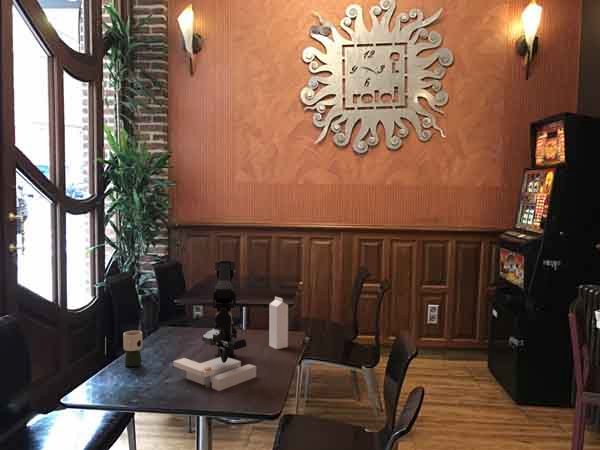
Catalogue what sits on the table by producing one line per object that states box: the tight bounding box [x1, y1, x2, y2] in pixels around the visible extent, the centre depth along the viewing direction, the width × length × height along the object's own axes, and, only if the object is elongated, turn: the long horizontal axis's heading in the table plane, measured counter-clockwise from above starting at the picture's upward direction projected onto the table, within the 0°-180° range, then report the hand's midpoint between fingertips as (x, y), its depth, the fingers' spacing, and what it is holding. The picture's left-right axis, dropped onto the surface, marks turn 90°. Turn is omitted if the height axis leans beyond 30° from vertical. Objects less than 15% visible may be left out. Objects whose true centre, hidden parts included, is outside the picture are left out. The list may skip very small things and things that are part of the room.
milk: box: [268, 296, 289, 350], centre depth 232 cm, size 6×6×22 cm
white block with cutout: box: [186, 357, 257, 392], centre depth 194 cm, size 18×19×4 cm
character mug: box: [122, 330, 143, 367], centre depth 206 cm, size 11×7×13 cm, turn 3°
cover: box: [172, 357, 215, 377], centre depth 190 cm, size 5×18×2 cm, turn 50°
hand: (224, 362), depth 196 cm, fingers closed
